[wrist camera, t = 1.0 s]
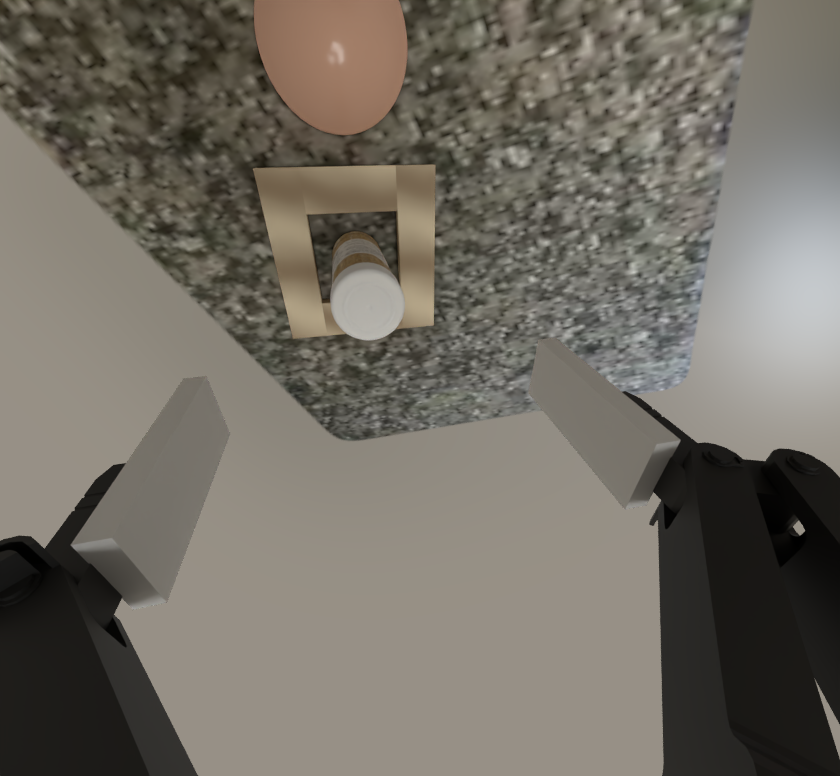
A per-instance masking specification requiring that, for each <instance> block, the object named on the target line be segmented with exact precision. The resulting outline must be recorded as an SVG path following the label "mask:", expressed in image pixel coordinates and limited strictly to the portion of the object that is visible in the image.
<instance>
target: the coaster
mask: <svg viewBox="0 0 840 776" xmlns="http://www.w3.org/2000/svg"><path fill="white" fill-rule="evenodd" d="M254 27H255V34H256V40H257V45H258V49H259V53H260V56H261V59H262V62H263V65H264V68H265V70H266V72H267V74H268V76H269V78H270V80H271V82H272V84H273V86H274V87H275V89H276V91H277V92H278V94H279V95H280V96H281V98H282V99H283V101H284V102H285V103H286V104H287V105H288V106H289V108H290V109H291V110H292V111H293V112H294V113H295V114H296V115H298V116H299V117H300V118H301V119H302V120H304V121H305V122H306V123H308V124H309V125H311V126H313V127H315V128H316V129H318V130H321V131H324V132H326V133H330V134H334V135H353V134H357V133H361V132H363V131H365V130H368V129H370V128H371V127H373V126H374V125H376V124H377V123H378V122H379V121H380V120H382V119H383V118H384V117H385V115H386V114H387V113H388V112H389V111H390V109H391V108H392V106H393V104H394V103H395V101H396V99H397V97H398V95H399V93H400V90H401V87H402V84H403V80H404V76H405V72H406V64H407V33H406V27H405V21H404V17H403V13H402V9H401V5H400V3H399V0H255V1H254Z"/></svg>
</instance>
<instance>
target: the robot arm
mask: <svg viewBox="0 0 840 776" xmlns="http://www.w3.org/2000/svg"><path fill="white" fill-rule="evenodd" d="M529 394H530V396H531V397H532V398H533V399H534V400H535V402H536V403H537V404H538V405H539V406H540V408H541V409H542V410H543V411H544V412H545V414H546V415H547V416H548V417H549V418H550V420H551V421H552V422H553V423H554V424H555V426H556V427H557V428H558V429H559V430H560V432H561V433H562V434H563V435H564V437H565V438H566V439H567V440H568V441H569V442H570V444H571V445H572V446H573V448H574V449H575V450H576V451H577V452H578V454H579V455H580V456H581V457H582V458H583V459H584V461H585V462H586V463H587V464H588V466H589V467H590V468H591V469H592V470H593V472H594V473H595V474H596V475H597V476H598V478H599V479H600V480H601V481H602V483H603V484H604V485H605V486H606V487H607V488H608V490H609V491H610V492H611V493H612V495H613V496H614V497H615V498H616V499H617V501H618V502H619V503H620V504H621V505H622V507H623V508H624V509H625V510H626V509H630V508H635V507H640V506H645V505H647V503H648V501H649V499H650V497H651V495H652V494H653V492H654V493H655V494H656V495H657V496H658V497H659V498H660V499H661V502H660V504H659V506H658V508H657V509H656V511H655V513H654V515H653V516H652V518H651V521H650V525H652V526H653V525H654V524H655V522H656V520H658V536H659V577H660V579H659V581H660V624H661V667H662V708H663V753H664V766H663V775H662V776H840V759H839V756H838V752H837V749H836V746H835V743H834V740H833V736H832V733H831V730H830V727H829V724H828V720H827V717H826V714H825V711H824V708H823V704H822V701H821V698H820V695H819V692H818V688H817V685H816V682H815V680H816V681H817V683H818V685H819V687H820V689H821V691H822V693H823V694H824V696H825V698H826V700H827V702H828V704H829V705H830V707H831V709H832V711H833V713H834V715H835V716H836V718H837V720H838V722H839V724H840V477H839V476H838V475H837V474H836V473H835V472H834V471H833V470H832V469H831V468H830V467H828V466H827V465H826V464H825V463H823V462H821V461H820V460H818V459H816V458H815V457H813V456H811V455H809V454H806V453H803V452H800V451H795V450H791V449H777V450H774V451H773V452H772V453H771V454H770V456H769V457H768V458H767V460H766V461H756V460H744V459H742V458H741V457H740V456H738V455H737V454H736V453H734V452H732V451H730V450H728V449H727V448H725V447H722V446H719V445H716V444H711V443H697V442H695V441H694V440H693V439H691V438H690V437H689V436H688V435H686V434H685V433H684V432H683V431H681V430H680V429H679V428H677V427H676V426H675V425H673V424H672V423H671V422H670V421H669V420H667V419H666V418H665V417H662V416H661V414H660V413H658V412H657V411H656V410H655V409H654V410H653V409H652V407H651V406H649V405H648V404H647V403H646V402H644V401H643V400H642V399H640V398H638V397H636V396H634V395H632V394H630V393H628V392H626V391H624V392H621V391H620V390H619V389H617V388H616V387H615V386H614V385H613V384H611V383H610V382H609V381H608V380H606V379H605V378H604V377H603V376H601V375H600V374H599V373H598V372H597V371H595V370H594V369H593V368H592V367H590V366H589V365H588V364H587V363H585V362H584V361H583V360H582V359H581V358H579V357H578V356H577V355H576V354H574V353H573V352H572V351H571V350H569V349H568V348H567V347H566V346H565V345H563V344H562V343H561V342H560V341H558V340H557V339H556V338H549V339H540V340H538V346H537V351H536V356H535V361H534V367H533V372H532V377H531V382H530V388H529ZM229 435H230V432H229V430H228V427H227V425H226V422H225V420H224V418H223V415H222V413H221V410H220V408H219V405H218V403H217V400H216V398H215V396H214V393H213V391H212V388H211V386H210V384H209V381H208V379H207V377H206V376H203V377H195V378H185V379H183V380H182V382H181V383H180V385H179V386H178V388H177V389H176V391H175V392H174V394H173V395H172V397H171V398H170V399H169V401H168V402H167V404H166V405H165V407H164V408H163V410H162V411H161V413H160V414H159V416H158V417H157V419H156V420H155V422H154V423H153V424H152V426H151V427H150V429H149V431H148V432H147V433H146V435H145V436H144V438H143V439H142V441H141V442H140V444H139V445H138V447H137V448H136V449H135V451H134V452H133V454H132V455H131V457H130V458H129V460H128V461H127V463H124V464H117V465H113V466H112V467H111V468H109V469H108V470H107V471H106V472H105V473H103V474H102V475H101V476H100V477H98V478H97V479H96V480H95V481H94V483H93V484H92V485H91V487H90V488H89V489H88V491H87V492H86V494H85V495H84V496H85V497H84V498H82V499H81V500H80V502H79V503H78V505H77V506H76V507H75V511H73V512H71V514H70V515H69V516H68V518H67V519H66V521H65V522H64V523H63V525H62V526H61V527H60V529H59V530H58V531H57V533H56V534H55V535H54V537H53V538H52V539H51V541H50V542H49V544H48V545H47V546H46V548H45V549H44V548H43V547H42V546H41V545H40V544H39V543H38V542H37V541H35V540H34V539H33V538H32V537H31V536H16V537H12V538H8V539H3V540H1V541H0V776H198V775H197V773H196V771H195V769H194V767H193V765H192V763H191V761H190V759H189V757H188V755H187V753H186V751H185V749H184V747H183V745H182V744H181V741H180V739H179V737H178V735H177V733H176V732H175V729H174V728H173V725H172V723H171V721H170V719H169V717H168V715H167V713H166V711H165V709H164V707H163V705H162V703H161V702H160V699H159V697H158V696H157V693H156V691H155V690H154V687H153V686H152V683H151V681H150V679H149V678H148V675H147V673H146V671H145V669H144V667H143V666H142V663H141V662H140V659H139V657H138V655H137V654H136V651H135V650H134V648H133V645H132V644H131V642H130V640H129V638H128V636H127V634H126V632H125V630H124V628H123V626H122V624H121V622H120V620H119V619H118V618H117V617H115V615H114V613H115V611H116V609H117V607H118V605H119V603H120V601H121V599H122V598H123V600H124V601H125V602H126V603H127V604H128V605H129V606H130V607H131V608H132V609H138V608H143V607H148V606H153V605H157V604H162V603H167V601H168V598H169V595H170V593H171V590H172V587H173V585H174V582H175V579H176V577H177V574H178V571H179V569H180V566H181V563H182V561H183V558H184V555H185V553H186V550H187V547H188V545H189V542H190V539H191V537H192V534H193V531H194V529H195V526H196V523H197V521H198V518H199V515H200V513H201V510H202V507H203V505H204V502H205V499H206V497H207V494H208V491H209V489H210V486H211V483H212V481H213V478H214V475H215V473H216V470H217V467H218V465H219V462H220V459H221V457H222V454H223V451H224V449H225V446H226V443H227V441H228V438H229ZM798 520H799V521H800V522H801V524H802V525H803V527H804V529H805V532H804V533H803V534H802V535H800V536H799V534H798V533H796V531H795V530H794V528H793V526H794V524H796V522H797V521H798ZM814 678H815V679H814Z"/></svg>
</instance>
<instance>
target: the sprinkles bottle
mask: <svg viewBox="0 0 840 776" xmlns="http://www.w3.org/2000/svg"><path fill="white" fill-rule="evenodd" d="M332 258H333V268H332V284H333V285H332V288H331V294H330V303H331V311H332V315H333V317H334V320H335V321H336V323H337V325H338V326H339V327H340V328H341V329H342V330H343V331H344V332H345V333H347V334H348V335H350V336H352V337H354V338H357V339H361V340H376V339H380V338H382V337H385V336H387V335H388V334H390V333H391V332H392V331H394V330H395V329H396V328H397V326H398V325H399V323H400V322H401V320H402V318H403V315H404V311H405V299H404V294H403V291H402V289H401V287H400V285H399V283H398V281H397V279H396V277H395V276H394V275H393V274H392V273H391V272H390V270H389V266H388V264H387V262H386V260H385V258H384V256H383V254H382V252H381V250H380V247H379V245H378V244H377V242H376V241H375V240H374V239H373V238H372V237H371V236H369V235H367V234H366V233H363V232H360V231H352V232H349V233H346V234H344V235H342V236H341V237H340V238H339V239H338V240H337V241H336V243H335V246H334V248H333V252H332Z"/></svg>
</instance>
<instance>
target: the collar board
mask: <svg viewBox="0 0 840 776" xmlns="http://www.w3.org/2000/svg"><path fill="white" fill-rule="evenodd" d="M253 171H254V175H255V179H256V183H257V188H258V192H259V196H260V200H261V205H262V209H263V213H264V217H265V221H266V226H267V230H268V234H269V238H270V243H271V247H272V251H273V255H274V260H275V264H276V268H277V272H278V277H279V281H280V285H281V289H282V294H283V298H284V302H285V306H286V310H287V315H288V319H289V323H290V327H291V332H292V336H293V339H296V338H307V337H317V336H328V335H338V334H347V333H345V332H344V331H343V330H342V329H341V328H340V327H339V326H338V325H337V323H336V321H335V320H334V317H333V315H332V311H331V303H330V299H322V295H321V289H320V284H319V278H318V272H317V266H316V260H315V255H314V249H313V243H312V237H311V232H310V226H309V220H308V215H309V214H333V213H358V212H382V211H396V229H397V251H398V273H399V285H400V287H401V289H402V291H403V294H404V299H405V311H404V315H403V318H402V320H401V322H400V323H399V325H398V326H397V328H396V329H401V328H411V327H422V326H432V325H434V248H435V165H434V164H423V165H371V166H320V167H269V168H253Z"/></svg>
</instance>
